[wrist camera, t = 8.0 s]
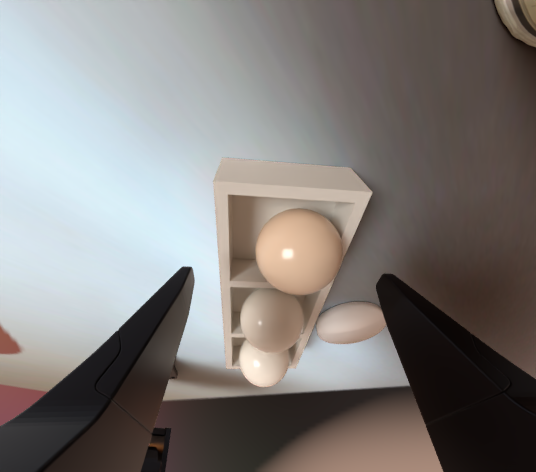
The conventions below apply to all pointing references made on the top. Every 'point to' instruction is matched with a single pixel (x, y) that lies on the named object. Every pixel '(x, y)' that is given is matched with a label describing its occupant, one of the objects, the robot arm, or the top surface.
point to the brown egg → (299, 251)
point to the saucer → (350, 322)
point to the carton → (254, 218)
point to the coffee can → (519, 18)
